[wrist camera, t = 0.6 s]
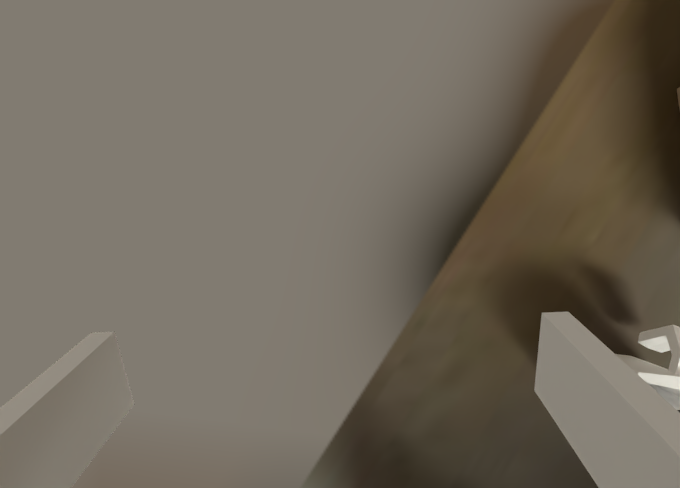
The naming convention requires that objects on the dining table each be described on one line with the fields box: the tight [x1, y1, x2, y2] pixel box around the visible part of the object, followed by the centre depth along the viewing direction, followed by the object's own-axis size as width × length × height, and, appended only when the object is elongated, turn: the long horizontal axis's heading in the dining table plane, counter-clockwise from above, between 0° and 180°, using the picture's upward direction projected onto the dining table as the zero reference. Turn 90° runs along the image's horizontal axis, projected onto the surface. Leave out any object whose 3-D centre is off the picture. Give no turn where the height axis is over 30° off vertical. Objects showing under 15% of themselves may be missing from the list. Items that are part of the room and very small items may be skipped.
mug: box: [616, 325, 680, 410], centre depth 35 cm, size 12×9×10 cm
